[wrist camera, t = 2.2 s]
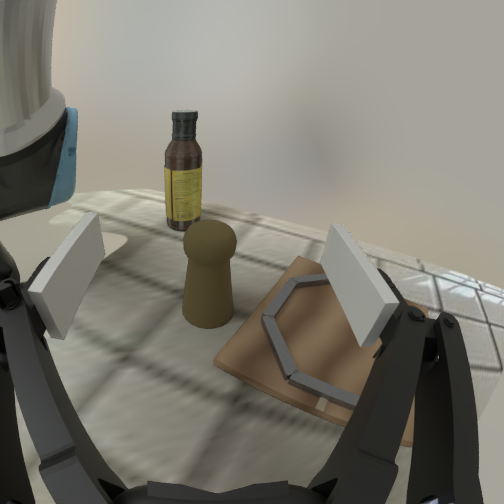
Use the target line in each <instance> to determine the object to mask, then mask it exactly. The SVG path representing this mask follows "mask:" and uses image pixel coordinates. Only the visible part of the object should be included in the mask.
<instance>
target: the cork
mask: <svg viewBox="0 0 504 504" xmlns="http://www.w3.org/2000/svg"><path fill="white" fill-rule="evenodd" d="M183 244H184V251H185V254H186V255H187V257H188V258H189V259H188V266H187V274H186V281H185V289H184V298H183V306H182V310H183V315H184V317H185V319H186V320H187V321H188V322H190V323H191V324H192V325H195V326H197V327H200V328H206V329H209V328H217V327H220V326H223V325H224V324H226V323H227V322H228V321H229V320H230V319H231V317H232V315H233V300H232V286H231V272H230V259H231V258H232V257H233V255H234V253H235V249H236V244H237V240H236V235H235V233H234V231H233V229H232V228H231V227H230V226H229V225H227V224H225V223H223V222H220V221H217V220H202V221H198V222H196V223H193V224H192V225H190V226H189V227H188V229H187V230H186V232H185V234H184V238H183Z"/></svg>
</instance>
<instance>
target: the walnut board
mask: <svg viewBox="0 0 504 504" xmlns="http://www.w3.org/2000/svg"><path fill="white" fill-rule="evenodd" d="M324 273H325V271H324V269H323V267H322V265H321V264H318V263H316V262H313V261H311V260H308V259H306V258H303V257H301V256H298V257H297V258H296V259H295V260H294V262H293V263H292V264H291V266H290V267H289V268H288V269H287V271H286V272H285V273H284V274H283V276H282V277H281V278H280V279H279V281H278V282H277V283H276V284H275V286H274V287H273V288H272V289H271V291H270V292H269V293H268V294H267V296H266V297H265V298H264V299H263V301H262V302H261V303H260V304H259V305H258V307H257V308H256V309H255V310H254V311H253V313H252V314H251V315H250V316H249V318H248V319H247V320H246V321H245V322H244V324H243V325H242V326H241V327H240V328H239V330H238V331H237V332H236V333H235V334H234V335H233V337H232V338H231V339H230V340H229V341H228V343H227V344H226V345H225V346H224V347H223V348H222V350H221V351H220V352H219V353H218V354H217V355H216V357H215V358H214V365H215V366H217V367H219V368H220V369H222V370H224V371H226V372H227V373H229V374H231V375H233V376H235V377H236V378H238V379H240V380H242V381H244V382H246V383H248V384H250V385H251V386H253V387H255V388H257V389H259V390H261V391H263V392H265V393H267V394H269V395H271V396H273V397H275V398H277V399H280V400H282V401H284V402H286V403H288V404H290V405H293V406H295V407H297V408H299V409H301V410H304V411H306V412H308V413H311V414H313V415H316V416H318V417H320V418H323V419H325V420H328V421H330V422H333V423H336V424H338V425H341V426H344V427H346V425H347V423H348V421H349V419H350V417H351V415H352V413H353V411H352V410H349V409H346V408H344V407H341V406H339V405H336V404H334V403H331V402H329V401H328V400H327V399H324V398H322V397H320V398H319V397H317V396H314V395H312V394H310V393H307V392H305V391H303V390H301V389H298V388H296V387H294V386H292V385H290V384H288V381H289V380H285V381H284V378H283V376H282V373H281V371H280V368H279V366H278V364H277V361H276V359H275V356H274V354H273V351H272V349H271V347H270V344H269V342H268V339H267V337H266V334H265V332H264V329H263V327H262V324H261V318H262V313H263V312H264V311H265V310H266V308H267V307H268V306H269V304H270V303H271V302H272V300H273V299H274V298H275V297H276V295H277V294H278V293H279V291H280V290H281V289H282V287H283V286H284V285H285V283H286V282H287V281H288V279H289V278H292V277H295V276H305V275H315V274H324ZM404 300H405V301H406V303H407V304H408V306H414V307H417V308H419V309H420V310H421V311H422V312H423V313H424V314H425V316H426V317H427V318H428V309H427V308H425V307H423V306H420V305H418V304H416V303H413V302H411V301H408V300H406V299H404ZM275 321H276V323H277V326H278V328H279V330H280V332H281V335H282V337H283V339H284V341H285V343H286V346H287V348H288V350H289V352H290V354H291V357H292V359H293V361H294V363H295V365H296V368H297V370H298V371H301V372H303V373H305V374H307V375H310V376H312V377H314V378H316V379H319V380H321V381H323V382H326V383H328V384H331V385H333V386H335V387H338V388H340V389H343V390H345V391H348V392H350V393H353V394H356V395H358V396H360V395H361V393H362V391H363V388H364V386H365V384H366V381H367V379H368V376H369V374H370V371H371V368H372V366H373V363H374V360H375V358H376V357H375V358H372V357H373V356H374V354H375V353H376V352H377V350H378V349H379V347H380V346H381V344H382V341H381V339H380V337H379V338H378V339H377V341H376V343H375V344H374V345H373V346H366V347H360V346H359V343H358V341H357V339H356V337H355V335H354V332H353V330H352V328H351V326H350V324H349V321H348V319H347V317H346V315H345V313H344V311H343V308H342V306H341V304H340V302H339V300H338V298H337V296H336V294H335V292H334V290H333V288H332V285H331V284H328V285H320V286H312V287H304V288H296V289H295V290H294V292H293V293H292V294H291V296H290V297H289V299H288V300H287V302H286V303H285V305H284V306H283V308H282V309H281V310H280V312H279V313H278V315H277V316H276V318H275ZM414 405H415V395H414V399H413V403H412V407H411V411H410V414H409V418H408V421H407V425H406V428H405V431H404V434H403V437H402V440H401V443H400V445H403V446H407V447H411V446H413V434H414Z"/></svg>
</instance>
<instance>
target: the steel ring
mask: <svg viewBox="0 0 504 504" xmlns="http://www.w3.org/2000/svg"><path fill="white" fill-rule="evenodd" d="M328 284H331V283H330V281H329V279H328V277H327V275H326V273H324V274H315V275H305V276H295V277H292V278H289V279H288V281H287V282H286V283H285V285H284V286H283V287H282V289H281V290H280V291H279V293H278V294H277V295H276V297H275V298H274V299H273V300H272V302H271V303H270V304H269V306H268V307H267V308H266V310H265V311H264V312H263V313H262V318H261V324H262V327H263V329H264V332H265V334H266V337H267V339H268V342H269V344H270V347H271V349H272V351H273V354H274V356H275V359H276V361H277V364H278V366H279V368H280V371H281V373H282V376H283V378H284V381H285V380H289V381H288V384H290V385H292V386H294V387H296V388H298V389H301V390H303V391H305V392H307V393H310V394H312V395H314V396H317V397H319V398H320V397H322V398H324V399H327V400H328V401H329V402H331V403H334V404H336V405H339V406H341V407H344V408H346V409H349V410H352V411H354V409H355V407H356V404H357V402H358V400H359V398H360V396H358V395H356V394H353V393H350V392H348V391H345V390H343V389H340V388H338V387H335V386H333V385H331V384H328V383H326V382H323V381H321V380H319V379H316V378H314V377H312V376H310V375H307V374H305V373H303V372H301V371H298V370H297V368H296V365H295V363H294V361H293V359H292V357H291V354H290V352H289V350H288V348H287V346H286V343H285V341H284V339H283V337H282V335H281V332H280V330H279V328H278V326H277V323H276V321H275V318H276V316H277V315H278V313H279V312H280V310H281V309H282V308H283V306H284V305H285V303H286V302H287V300H288V299H289V297H290V296H291V294H292V293H293V292H294V290H295V289H296V288H304V287H312V286H320V285H328Z"/></svg>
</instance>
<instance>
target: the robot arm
mask: <svg viewBox="0 0 504 504" xmlns="http://www.w3.org/2000/svg"><path fill="white" fill-rule="evenodd" d="M56 3H57V0H0V221H2V220H6V219H9V218H12V217H16V216H20V215H24V214H27V213H31V212H35V211H39V210H42V209H49V208H50V207H51V206H54V205H57V204H60V203H63V202H66V201H68V200H69V199H70V198H71V197H72V196H73V194H74V191H75V183H76V145H77V128H78V111H77V109H76V108H70V107H67V108H65V99H64V96H63V94H62V93H61V92H60V91H59V90H57V89H55V88H53V87H51V53H52V37H53V25H54V16H55V9H56ZM104 256H105V250H104V245H103V239H102V234H101V228H100V222H99V215H98V213H86V214H85V215H84V216H83V217H82V219H81V220H80V221H79V222H78V223H77V224H76V226H75V227H74V228H73V229H72V230H71V232H70V233H69V234H68V235H67V237H66V238H65V239H64V240H63V242H62V243H61V244H60V245H59V247H58V248H57V249H56V251H55V252H54V253H53V255H52V256H51V257H47V258H46V259H45V260H43V261H42V262H41V263H40V264H39V265H38V267H37V268H36V271H34V272H33V274H32V277H30V278H29V280H28V281H27V282H26V284H25V285H24V287H23V288H22V290H21V291H20V289H19V284H20V274H19V271H18V269H17V266H16V263H15V261H14V259H13V258H12V256H11V255H10V254H9V252H8V251H7V250H6V249H5V247H4V246H3V244H2V243H1V242H0V504H35V499H34V495H33V492H32V488H31V484H30V481H29V478H28V474H27V470H26V466H25V462H24V458H23V453H22V448H21V443H20V437H19V431H18V424H17V416H16V407H15V394H14V388H15V392H16V395H17V399H18V402H19V405H20V408H21V411H22V414H23V417H24V420H25V423H26V426H27V428H28V431H29V434H30V436H31V439H32V441H33V443H34V446H35V448H36V450H37V453H38V455H39V457H40V460H41V464H40V465H39V472H40V475H41V477H42V479H43V481H44V483H45V485H46V487H47V489H48V491H49V492H50V494H51V496H52V498H53V499H54V501H55V503H56V504H385V502H386V500H387V498H388V496H389V493H390V491H391V489H392V487H393V484H394V482H395V479H396V477H397V474H398V466H397V465H396V464H395V457H396V454H397V452H398V449H399V446H400V443H401V440H402V437H403V434H404V431H405V428H406V425H407V421H408V418H409V414H410V411H411V407H412V403H413V399H414V395H415V405H414V434H413V447H412V458H411V467H410V474H409V481H408V488H407V500H406V504H484V503H483V497H482V491H481V486H480V481H479V476H478V472H479V470H478V469H479V442H478V424H477V413H476V404H475V396H474V389H473V383H472V377H471V372H470V367H469V362H468V357H467V353H466V348H465V344H464V340H463V336H462V333H461V329H460V325H459V323H458V321H457V320H456V318H455V317H454V316H453V315H451V314H449V313H445V312H443V313H440V315H439V316H438V318H437V319H436V320H435V319H430V318H427V317H426V316H425V314H424V313H423V312H422V311H421V310H420V309H419V308H417V307H414V306H408V304H407V303H406V301H405V300H404V298H403V297H402V295H401V294H400V292H399V291H398V289H397V288H396V286H395V285H394V284H393V283H392V281H391V279H390V278H389V277H388V275H387V274H386V273H384V272H383V271H382V270H381V269H376V267H375V266H374V264H373V263H372V262H371V260H370V259H369V258H368V256H367V255H366V253H365V252H364V251H363V249H362V248H361V247H360V245H359V244H358V243H357V241H356V240H355V239H354V238H353V236H352V235H351V234H350V232H349V231H348V230H347V228H346V227H345V226H344V225H343V224H338V223H331V226H330V230H329V233H328V237H327V240H326V244H325V247H324V250H323V254H322V257H321V261H320V263H321V265H322V267H323V269H324V271H325V273H326V275H327V277H328V279H329V281H330V283H331V285H332V288H333V290H334V292H335V294H336V296H337V298H338V300H339V302H340V304H341V306H342V308H343V311H344V313H345V315H346V317H347V319H348V321H349V324H350V326H351V328H352V330H353V332H354V335H355V337H356V339H357V341H358V343H359V346H360V347H366V346H373V345H374V344H375V343H376V341H377V339H378V338H379V337H380V339H381V341H382V344H381V346H380V347H379V349H378V350H377V352H376V353H375V354H374V356H373V357H372V358H375V357H376V358H375V360H374V363H373V366H372V368H371V371H370V374H369V376H368V379H367V381H366V384H365V386H364V388H363V391H362V393H361V395H360V398H359V400H358V402H357V404H356V407H355V409H354V411H353V413H352V415H351V417H350V419H349V421H348V423H347V425H346V427H345V429H344V431H343V433H342V435H341V437H340V439H339V441H338V443H337V445H336V447H335V448H334V450H333V452H332V454H331V456H330V457H329V459H328V461H327V462H326V464H325V466H324V467H323V468H322V470H321V471H320V472H319V473H318V474H317V475H316V476H315V477H314V479H313V480H312V481H311V483H310V484H309V486H308V487H307V488H304V487H301V486H296V485H289V484H288V480H287V481H280V482H272V483H262V484H253V485H250V486H246V487H243V488H239V489H235V490H232V491H228V492H223V493H213V492H208V491H204V490H200V489H196V488H192V487H189V486H185V485H181V484H170V483H160V482H152V481H148V482H147V485H143V486H138V487H134V488H131V489H128V488H127V487H126V486H125V484H124V483H123V482H122V481H121V479H120V478H119V477H118V476H117V475H116V474H115V473H114V472H113V471H112V470H111V469H110V468H109V467H108V465H107V464H106V462H105V461H104V459H103V458H102V456H101V455H100V453H99V452H98V450H97V449H96V447H95V445H94V444H93V442H92V440H91V439H90V437H89V435H88V434H87V432H86V430H85V428H84V426H83V425H82V423H81V421H80V419H79V417H78V415H77V413H76V411H75V409H74V407H73V405H72V403H71V401H70V399H69V397H68V395H67V393H66V390H65V388H64V386H63V384H62V381H61V379H60V376H59V374H58V371H57V369H56V366H55V364H54V361H53V358H52V356H51V353H50V350H49V347H48V344H47V341H46V339H45V337H44V336H43V335H44V332H45V330H46V329H47V331H48V333H49V335H50V336H51V338H56V339H61V340H64V339H65V337H66V334H67V332H68V330H69V327H70V325H71V323H72V320H73V318H74V316H75V314H76V311H77V309H78V307H79V305H80V303H81V301H82V298H83V296H84V294H85V292H86V290H87V288H88V286H89V284H90V282H91V280H92V278H93V276H94V274H95V272H96V271H97V269H98V267H99V265H100V263H101V261H102V259H103V258H104ZM438 356H439V359H438Z"/></svg>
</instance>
